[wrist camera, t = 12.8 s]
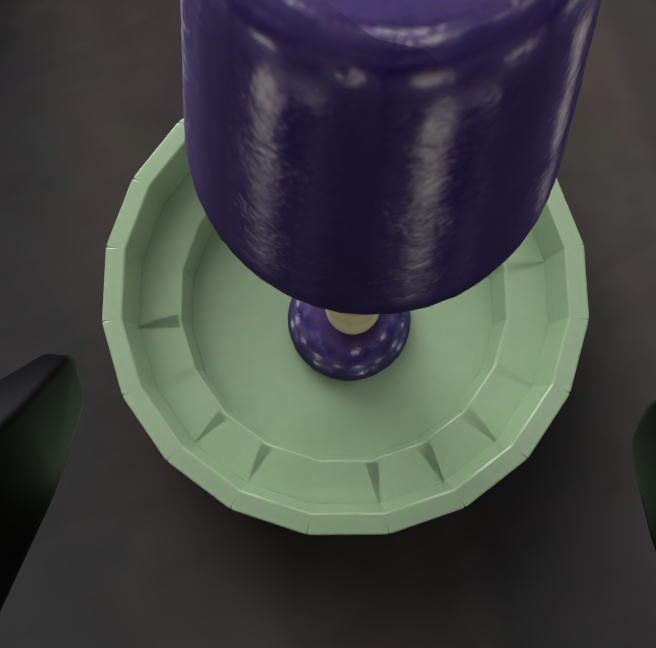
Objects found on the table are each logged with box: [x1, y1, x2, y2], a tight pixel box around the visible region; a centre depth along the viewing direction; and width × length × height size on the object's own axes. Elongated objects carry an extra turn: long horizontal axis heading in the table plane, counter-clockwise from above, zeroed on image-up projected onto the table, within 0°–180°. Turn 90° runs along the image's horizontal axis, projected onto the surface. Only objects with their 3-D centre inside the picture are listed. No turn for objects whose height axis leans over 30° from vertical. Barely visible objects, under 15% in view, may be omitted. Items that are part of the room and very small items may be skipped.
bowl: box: [102, 118, 589, 535], centre depth 19 cm, size 14×14×4 cm
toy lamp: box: [180, 0, 601, 381], centre depth 12 cm, size 5×5×17 cm
